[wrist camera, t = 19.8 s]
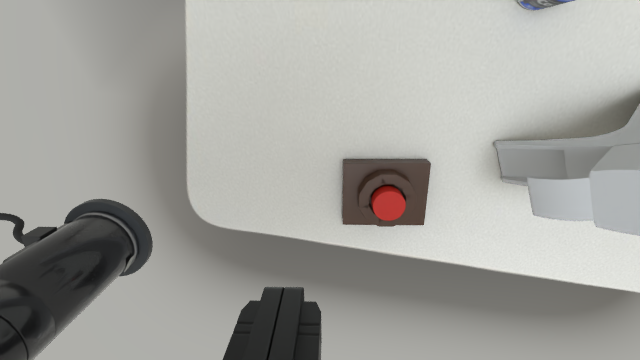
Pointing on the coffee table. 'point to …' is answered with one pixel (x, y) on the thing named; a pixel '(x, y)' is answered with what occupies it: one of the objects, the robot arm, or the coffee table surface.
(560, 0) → the pill bottle
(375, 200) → the button
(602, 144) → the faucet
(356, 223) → the button box
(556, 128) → the coffee table surface
